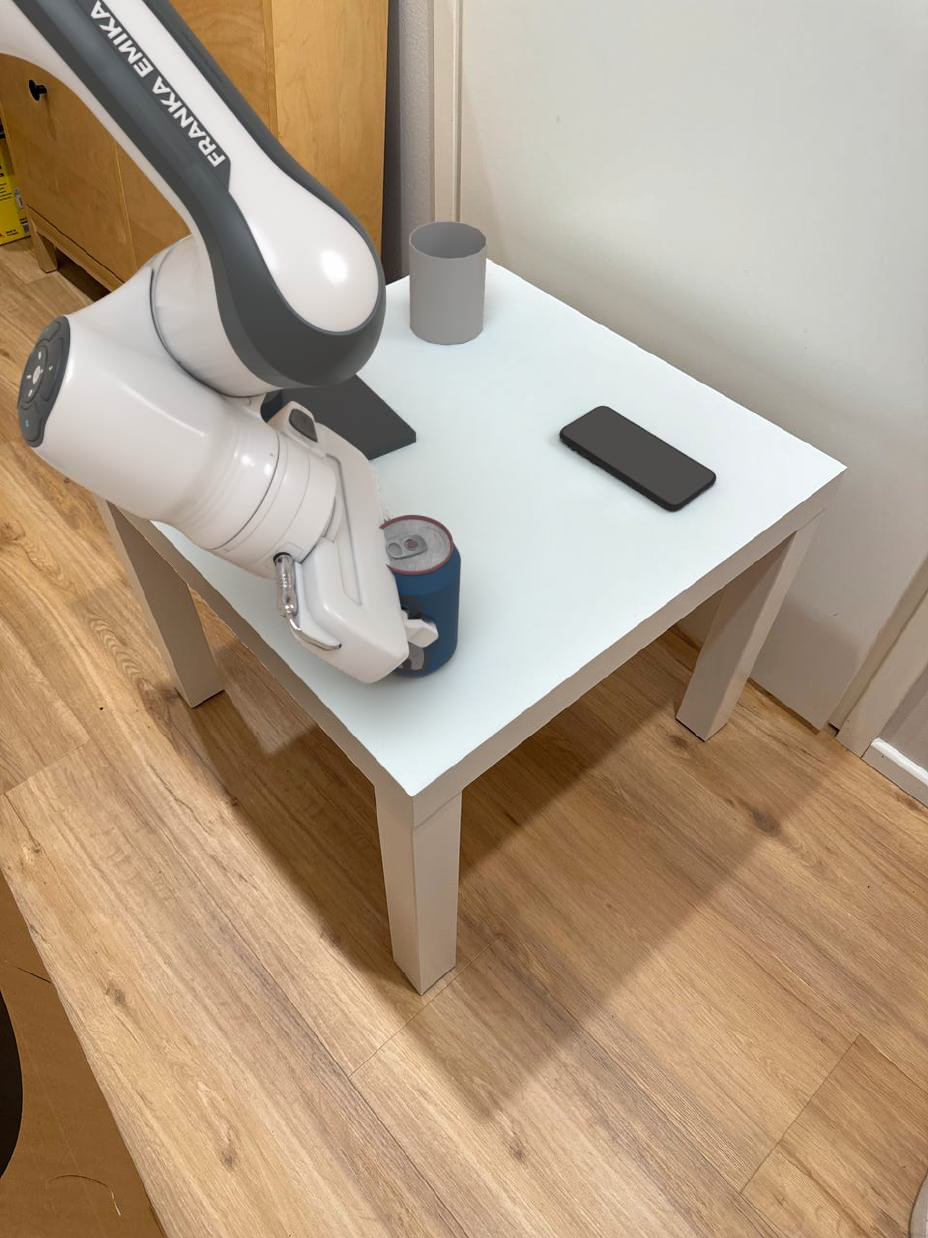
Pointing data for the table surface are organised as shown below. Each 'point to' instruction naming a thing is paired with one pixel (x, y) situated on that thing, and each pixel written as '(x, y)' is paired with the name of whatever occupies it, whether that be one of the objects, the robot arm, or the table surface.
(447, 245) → the cup
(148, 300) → the robot arm
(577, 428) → the smartphone
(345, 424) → the scale
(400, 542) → the soda can
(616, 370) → the table surface
